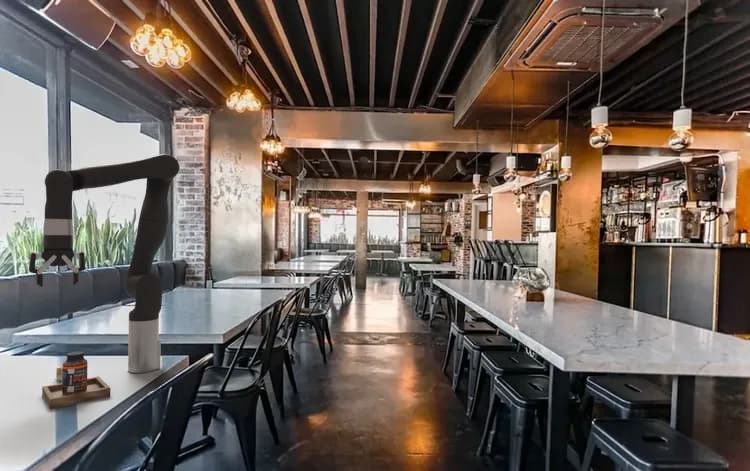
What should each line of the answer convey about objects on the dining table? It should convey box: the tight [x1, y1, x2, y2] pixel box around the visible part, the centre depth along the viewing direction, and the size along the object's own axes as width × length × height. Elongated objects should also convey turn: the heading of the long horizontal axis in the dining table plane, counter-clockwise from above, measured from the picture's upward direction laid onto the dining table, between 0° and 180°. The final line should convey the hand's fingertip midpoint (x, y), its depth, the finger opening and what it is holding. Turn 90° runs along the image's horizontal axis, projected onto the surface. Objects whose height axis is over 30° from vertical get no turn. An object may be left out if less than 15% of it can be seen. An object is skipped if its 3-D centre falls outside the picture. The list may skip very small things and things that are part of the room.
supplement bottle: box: [62, 351, 88, 395], centre depth 127 cm, size 6×6×11 cm
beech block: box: [55, 364, 63, 381], centre depth 144 cm, size 5×4×4 cm
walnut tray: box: [41, 376, 111, 410], centre depth 127 cm, size 14×14×2 cm
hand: (57, 285), depth 140 cm, fingers open, 8 cm apart
